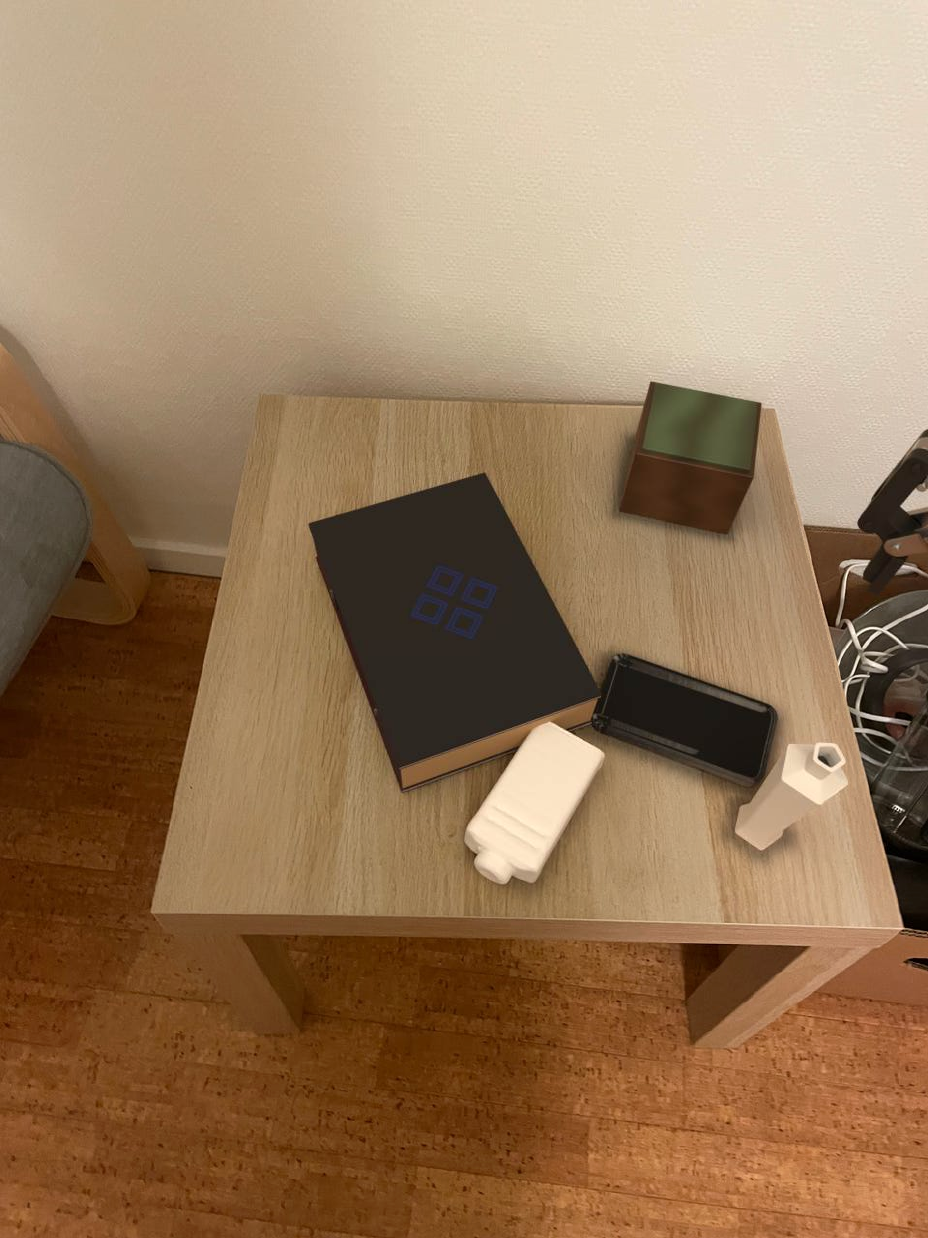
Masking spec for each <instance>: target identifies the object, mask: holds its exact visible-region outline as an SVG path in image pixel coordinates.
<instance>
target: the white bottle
mask: <svg viewBox="0 0 928 1238" xmlns="http://www.w3.org/2000/svg"><path fill="white" fill-rule="evenodd" d="M605 756H606V755H605V753H604V752H603V751H602V750H601V749H600V748H598V747H596V746H594V745H593V744H591V743H589V742H587V740H586V741H585V740H583V739H582V738H580V737H578V736H576V735H575V734H573V733H572V732H568V731H566V730H564V729H563V728H560V727H559V726H557V725H556V724H553V723H551V722H548V723H545V724H542V725H539V726H537V727H535V728H534V729H532V730H531V731H530V733H529V734H528V736H527V737H526V739H525V740H524V742H523V743H522V745H521V746H520V748H519V749H518V751H517V752H515V753H514V756H512V758H511V759H510V761H509V763H508V764H507V766H506V767H505V769H504V771H503V772H502V773H501V775H500V776H499V778H498V779H497V781H496V782H495V784H494V786H493V788H492V789H491V790H490V792H489V793H488V795H487V796H486V798H485V799H484V800H483V802H482V804H481V805H480V807H479V808H478V810H477V812H476V813H475V814H474V816H473V817H472V818H471V819H470V821H469V822H468V825H467V826H466V827H465V828H466V829H465V833H464V838H463V841H464V843H465V845H466V846H467V847H468V849H469V850H470V851H472V852H473V853H475V854H477V855H476V856H475V858H474V861H473V865H474V868H475V869H476V870H477V872H478V873H479V874H481V876H483V877H485V878H486V879H487V880H489V881H491V882H494V883H496V884H498V885H506V884H507V883H508V882H509V881H510V880H511V878H512V877H513V878H516V879H518V880H520V881H524V882H527V883H530V884H533V883H535V882H536V881H537V880H538V878H539V877H540V875H541V873H542V871H543V868H544V866H545V865H546V863H547V861H548V860H549V858H550V856H551V854H552V852H553V850H554V848H555V847H556V846H557V844H558V842H559V840H560V838H561V836H562V834H563V833H564V832H565V829H566V828H567V826H568V824H569V823H570V820H571V819H572V817H573V815H574V814H575V812H576V810H577V808H578V806H579V805H580V803H581V801H582V799H583V798H584V796H585V794H586V792H587V791H588V789H589V787H590V785H591V783H593V780H594V778H595V776H596V774H598V771H599V770H601V768H602V767H603V764H604V761H605V758H606V757H605Z"/></svg>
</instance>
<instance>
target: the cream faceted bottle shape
mask: <svg viewBox="0 0 928 1238" xmlns="http://www.w3.org/2000/svg"><path fill="white" fill-rule="evenodd" d="M845 764H846V758H845V756H844V754H843V752H842V751H841V749H840V747H839V746H838V744H837V743H834V742H820V741H819V742H816V743H815V744H809V743H789V744H787V746H786V747H785V749H784V751H783V752H782V754H781V755H780V757H779V758H778V760H777V761H776V763H775V765H774V766H773V767H772V769H771V770H770V772H769V774H768V775H767V777H766V778H765V780H764V781H763V783H762V784H761V786H760V787H759V788H758V790H757V791H756V793H755V795H754V796H753V797H752V800H751V801H750V802H749V803H746V804H741V805H740V806H739V809H738V813H737V819H736V822H735V823H736V824H735V826H734V832H735V834H736V835H737V836H738V837H740V838H741V839H743V840H745V841H746V842H748V844H750V845H752V847H754V848H756V850H759V851H764V850H765V849H767V848H768V847H770V846H771V845H773V844H774V843H775V842H776V841H778V840H779V839H781V838H782V837H783V835H784V834H783V833H784V830H785V829H787V828H788V827H790V826H791V825H793V824H794V823H796V822H797V821H799V820H800V819H802V818H803V817H805V816H806V815H808V814H809V813H810V812H812V811H813V810H815V809H816V808H818V807H819V806H821V805H822V804H824V803H825V802H827V801H828V800H830V799H831V798H832V797H834V796H835V795H836V794H837V793H838V792H840V791H841V790H843V789H844V788H845V787H847V786H848V785H849V781H848V778H847V776H846V774H845V772H844V770H843V769H842V767H843V766H844V765H845Z"/></svg>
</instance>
